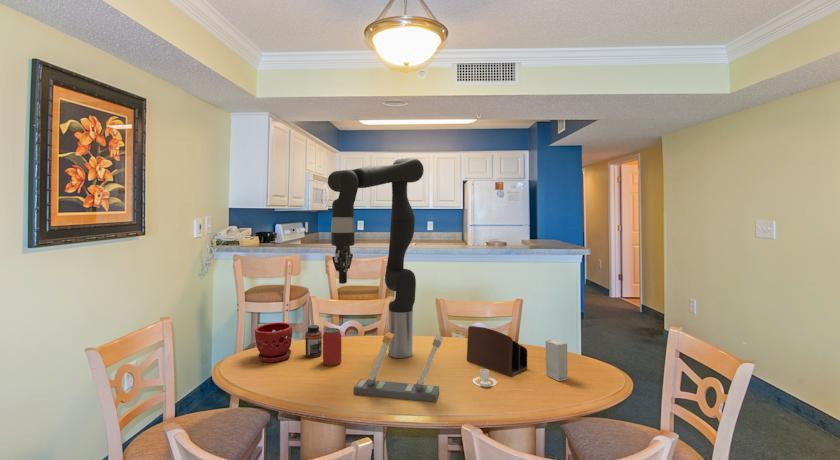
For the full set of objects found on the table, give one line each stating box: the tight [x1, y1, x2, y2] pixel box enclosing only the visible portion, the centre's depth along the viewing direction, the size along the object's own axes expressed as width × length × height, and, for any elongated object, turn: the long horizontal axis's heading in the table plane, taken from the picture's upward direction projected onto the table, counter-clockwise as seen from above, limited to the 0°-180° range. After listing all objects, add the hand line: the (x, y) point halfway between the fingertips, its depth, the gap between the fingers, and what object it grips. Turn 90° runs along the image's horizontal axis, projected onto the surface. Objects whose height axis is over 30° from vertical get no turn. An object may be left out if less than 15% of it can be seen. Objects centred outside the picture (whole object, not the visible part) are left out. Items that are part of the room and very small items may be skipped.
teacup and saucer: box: [471, 368, 498, 388], centre depth 136 cm, size 9×8×4 cm
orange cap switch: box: [366, 331, 394, 386], centre depth 128 cm, size 4×2×16 cm, turn 169°
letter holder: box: [466, 325, 528, 377], centre depth 151 cm, size 10×20×14 cm, turn 42°
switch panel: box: [353, 379, 440, 403], centre depth 127 cm, size 6×25×2 cm, turn 79°
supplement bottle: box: [305, 324, 323, 359], centre depth 160 cm, size 6×6×11 cm
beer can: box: [322, 327, 342, 367], centre depth 152 cm, size 7×7×12 cm
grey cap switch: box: [415, 334, 444, 390], centre depth 125 cm, size 4×2×16 cm, turn 169°
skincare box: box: [545, 338, 568, 382], centre depth 140 cm, size 6×4×12 cm
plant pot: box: [254, 322, 293, 363], centre depth 156 cm, size 13×13×12 cm
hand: (342, 283), depth 140 cm, fingers closed
